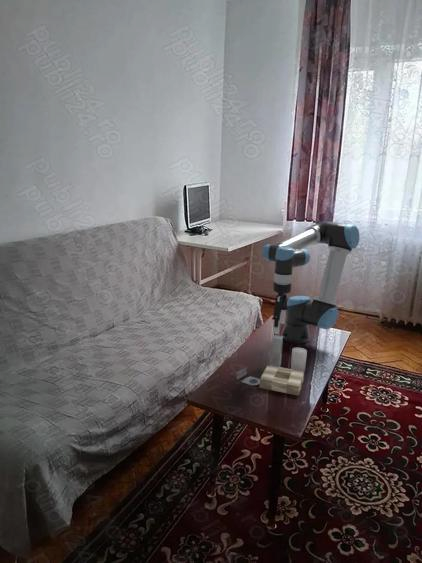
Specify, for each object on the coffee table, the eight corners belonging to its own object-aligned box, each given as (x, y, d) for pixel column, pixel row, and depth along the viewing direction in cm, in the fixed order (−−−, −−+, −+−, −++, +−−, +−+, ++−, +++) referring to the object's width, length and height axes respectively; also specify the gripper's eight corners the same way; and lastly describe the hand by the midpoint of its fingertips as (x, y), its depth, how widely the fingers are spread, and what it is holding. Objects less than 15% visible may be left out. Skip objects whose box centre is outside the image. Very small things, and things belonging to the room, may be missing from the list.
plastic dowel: (291, 364, 193) (293, 346, 191) (306, 367, 191) (307, 348, 189) (289, 370, 187) (291, 351, 185) (304, 373, 185) (305, 354, 183)
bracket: (255, 388, 171) (255, 380, 170) (236, 380, 178) (236, 372, 177) (264, 383, 176) (264, 375, 175) (245, 375, 182) (245, 367, 181)
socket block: (267, 373, 184) (267, 364, 183) (303, 380, 179) (304, 371, 178) (259, 387, 171) (260, 378, 170) (298, 395, 166) (299, 386, 165)
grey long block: (272, 362, 194) (274, 334, 190) (280, 364, 193) (283, 336, 189) (270, 366, 190) (272, 338, 187) (279, 368, 189) (281, 339, 185)
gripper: (279, 275, 194) (276, 318, 199) (267, 288, 171) (264, 336, 176) (295, 277, 191) (291, 320, 197) (285, 290, 169) (282, 339, 174)
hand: (278, 328), depth 187 cm, fingers open, 13 cm apart
